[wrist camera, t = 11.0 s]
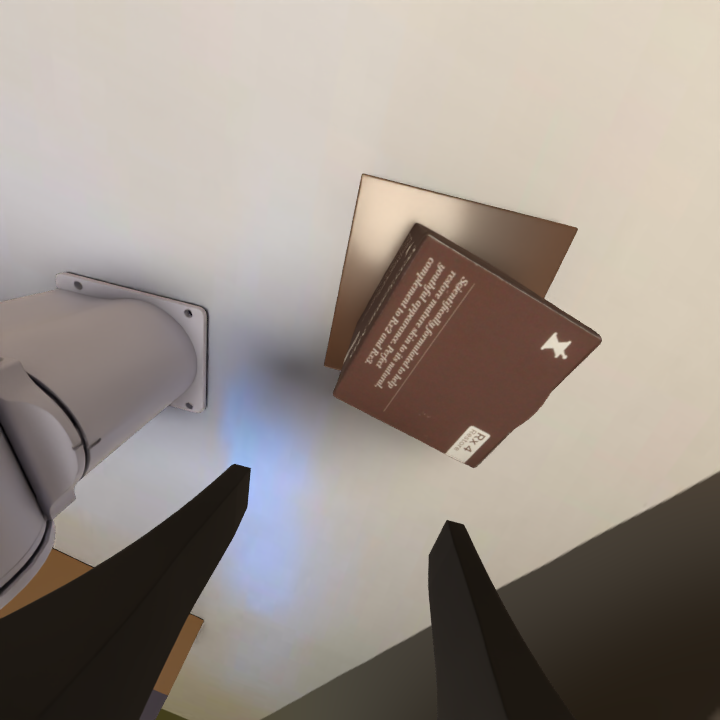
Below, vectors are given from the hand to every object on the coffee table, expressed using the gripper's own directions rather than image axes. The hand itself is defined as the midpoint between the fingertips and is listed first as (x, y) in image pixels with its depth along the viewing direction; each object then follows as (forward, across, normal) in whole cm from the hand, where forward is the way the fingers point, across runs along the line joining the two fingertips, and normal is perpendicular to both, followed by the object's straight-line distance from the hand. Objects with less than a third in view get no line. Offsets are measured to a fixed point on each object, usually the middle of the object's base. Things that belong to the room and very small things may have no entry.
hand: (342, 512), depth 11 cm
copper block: (+10, -2, -6) cm, 12 cm away
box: (+9, -2, -6) cm, 11 cm away
